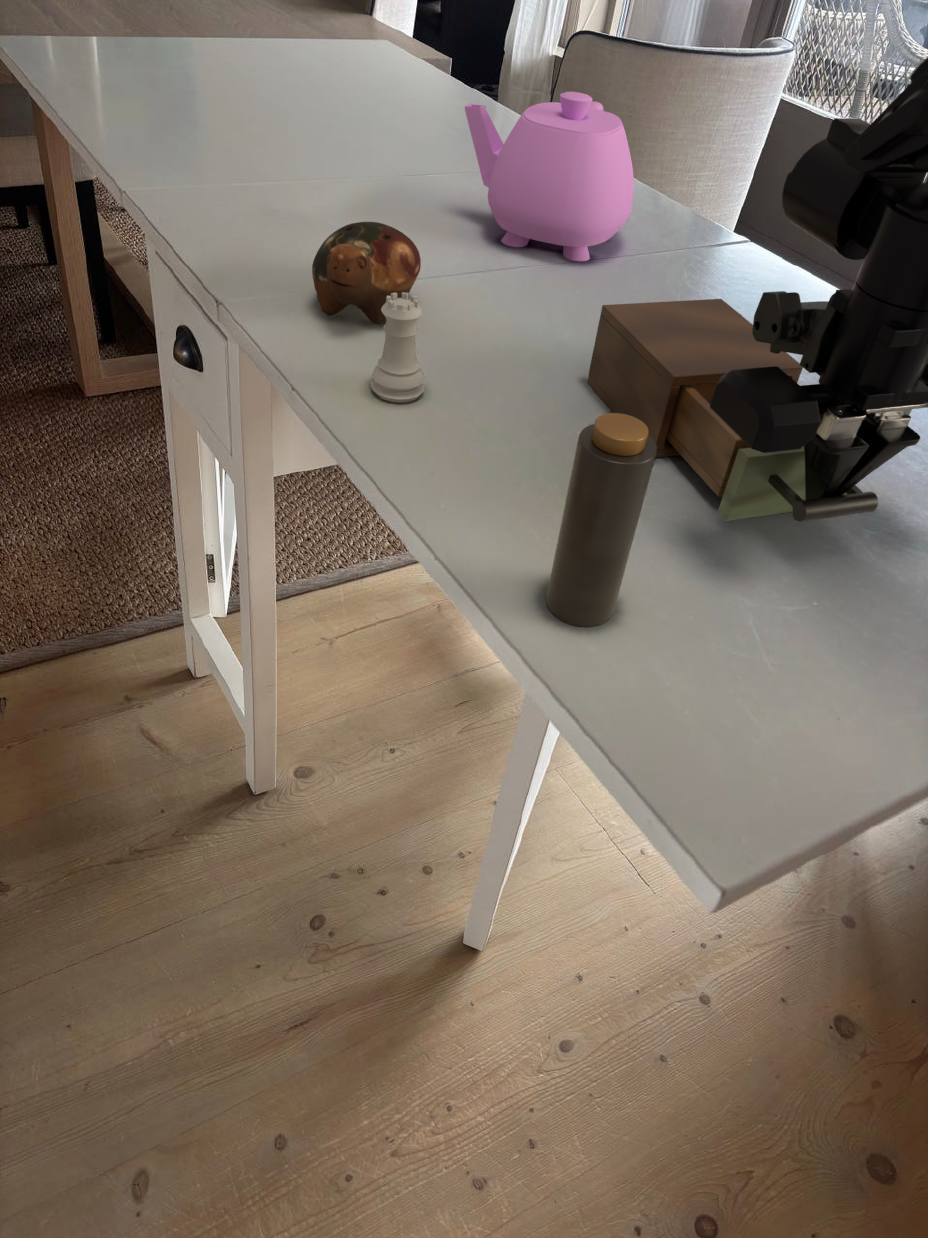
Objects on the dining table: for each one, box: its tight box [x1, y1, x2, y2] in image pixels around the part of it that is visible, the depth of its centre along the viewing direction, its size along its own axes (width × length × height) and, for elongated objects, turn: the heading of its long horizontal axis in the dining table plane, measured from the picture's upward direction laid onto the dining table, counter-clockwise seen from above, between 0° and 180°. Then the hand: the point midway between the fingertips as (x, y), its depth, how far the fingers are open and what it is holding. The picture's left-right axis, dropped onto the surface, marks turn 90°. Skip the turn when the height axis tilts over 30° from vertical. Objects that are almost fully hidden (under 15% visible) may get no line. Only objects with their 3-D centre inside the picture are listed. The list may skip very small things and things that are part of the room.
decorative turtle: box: [311, 221, 422, 326], centre depth 88 cm, size 10×15×8 cm, turn 170°
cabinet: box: [586, 298, 804, 459], centre depth 78 cm, size 13×12×7 cm
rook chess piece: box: [370, 292, 425, 404], centre depth 76 cm, size 4×4×8 cm
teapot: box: [464, 91, 635, 262], centre depth 105 cm, size 20×20×15 cm
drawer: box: [666, 382, 879, 523], centre depth 70 cm, size 16×10×5 cm, turn 19°
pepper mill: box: [545, 412, 657, 628], centre depth 56 cm, size 4×4×13 cm
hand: (813, 507), depth 66 cm, fingers closed, pressing on drawer
